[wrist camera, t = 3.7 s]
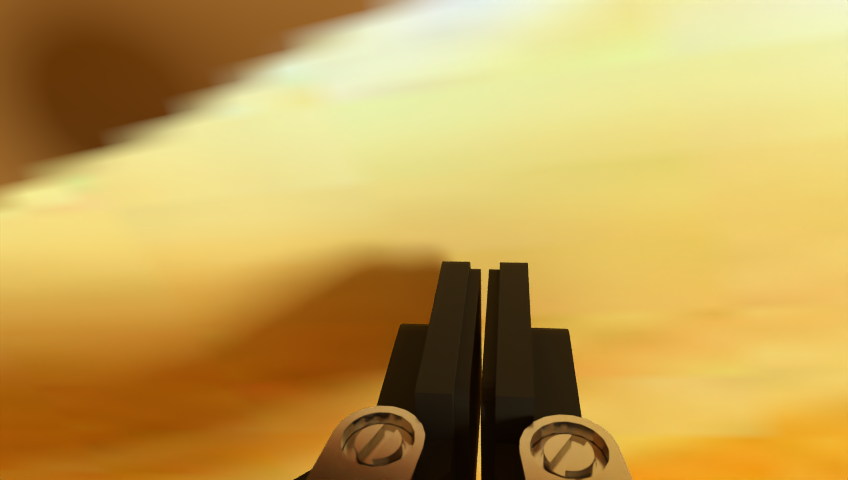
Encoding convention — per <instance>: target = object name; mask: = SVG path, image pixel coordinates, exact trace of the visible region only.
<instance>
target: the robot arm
mask: <svg viewBox="0 0 848 480" xmlns="http://www.w3.org/2000/svg"><path fill="white" fill-rule="evenodd" d="M480 408H481V480H632V477H631V475H630V473H629V470H628V468H627V465H626V463H625V461H624V458H623V456H622V453H621V451H620V449H619V446H618V445H617V443H616V441H615V440H614V438H613V437H612V435H611V434H609V433H608V432H607V431H606V430H605V429H604V428H602V427H601V426H600V425H598V424H596V423H594V422H592V421H590V420H588V419H585V418H582V417H581V410H580V403H579V396H578V389H577V383H576V376H575V369H574V362H573V355H572V349H571V342H570V335H569V330H568V329H553V328H531V318H530V298H529V278H528V263H503V262H500V270H495V269H489V279H488V294H487V309H486V324H485V339H484V354H483V369H482V349H481V269H471V267H470V262H445V261H443V262H442V266H441V271H440V276H439V280H438V285H437V290H436V295H435V299H434V304H433V309H432V313H431V318H430V323H429V325H425V324H401V325H400V328H399V330H398V334H397V337H396V341H395V344H394V348H393V351H392V355H391V358H390V362H389V365H388V369H387V372H386V376H385V379H384V382H383V386H382V389H381V393H380V396H379V400H378V403H377V406H375V407H369V408H364V409H362V410H359V411H357V412H354V413H352V414H351V415H349V416H348V417H346V418H345V419H344V420H342V421H341V422H340V424H339V425H338V426H337V427H336V429H335V430H334V431H333V433H332V435H331V437H330V438H329V440H328V442H327V444H326V445H325V447H324V449H323V451H322V452H321V454H320V456H319V458H318V459H317V461H316V463H315V465H314V466H313V468H312V470H310V471H308V472H306V473H305V474H303V475H301V476H299V477H298V478H296V479H294V480H476V469H477V454H478V439H479V423H480Z"/></svg>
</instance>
